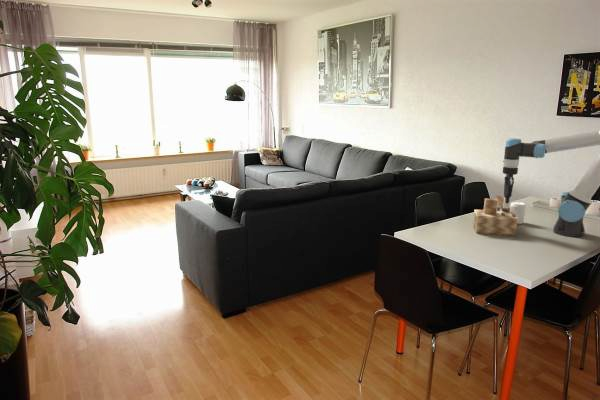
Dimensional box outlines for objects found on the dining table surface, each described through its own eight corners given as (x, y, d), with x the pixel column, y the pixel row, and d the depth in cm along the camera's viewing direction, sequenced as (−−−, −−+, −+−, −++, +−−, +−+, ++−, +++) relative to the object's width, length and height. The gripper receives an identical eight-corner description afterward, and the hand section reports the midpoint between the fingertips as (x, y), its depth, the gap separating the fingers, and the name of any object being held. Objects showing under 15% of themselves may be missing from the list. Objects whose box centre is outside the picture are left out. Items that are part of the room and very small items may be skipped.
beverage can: (509, 223, 263) (511, 204, 261) (508, 220, 271) (510, 201, 268) (524, 225, 261) (526, 205, 258) (522, 221, 268) (525, 202, 265)
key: (500, 202, 271) (501, 195, 271) (508, 211, 249) (508, 204, 248) (495, 201, 272) (496, 195, 271) (502, 211, 250) (503, 204, 249)
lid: (512, 213, 250) (514, 198, 248) (518, 220, 237) (520, 203, 234) (474, 211, 255) (475, 195, 253) (477, 217, 242) (478, 201, 240)
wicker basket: (508, 226, 258) (510, 207, 255) (515, 236, 239) (517, 215, 236) (471, 223, 263) (473, 204, 260) (476, 233, 244) (478, 213, 241)
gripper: (501, 164, 250) (496, 205, 256) (505, 168, 238) (500, 210, 243) (515, 165, 248) (510, 205, 254) (520, 168, 236) (515, 211, 241)
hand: (505, 208), depth 249 cm, fingers closed
